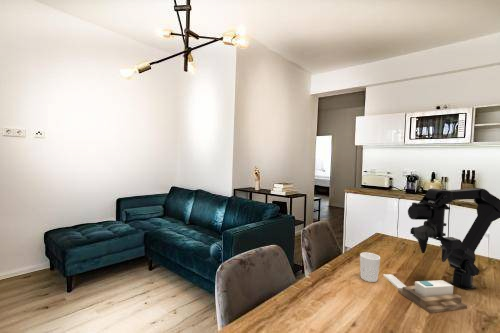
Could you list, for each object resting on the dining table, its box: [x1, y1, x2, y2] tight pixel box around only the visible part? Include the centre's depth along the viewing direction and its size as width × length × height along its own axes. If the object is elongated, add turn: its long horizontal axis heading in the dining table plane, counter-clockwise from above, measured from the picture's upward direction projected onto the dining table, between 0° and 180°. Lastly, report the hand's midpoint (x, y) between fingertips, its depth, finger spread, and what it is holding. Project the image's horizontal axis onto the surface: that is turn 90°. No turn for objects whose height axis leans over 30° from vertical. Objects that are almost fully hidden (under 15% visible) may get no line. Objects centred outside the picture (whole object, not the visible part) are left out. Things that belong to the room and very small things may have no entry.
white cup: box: [359, 251, 381, 283], centre depth 114 cm, size 8×8×10 cm
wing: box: [382, 273, 407, 290], centre depth 111 cm, size 4×12×1 cm, turn 1°
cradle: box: [397, 284, 468, 314], centre depth 98 cm, size 16×14×3 cm
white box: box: [414, 279, 454, 298], centre depth 98 cm, size 12×4×5 cm, turn 99°
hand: (432, 257), depth 109 cm, fingers open, 9 cm apart
